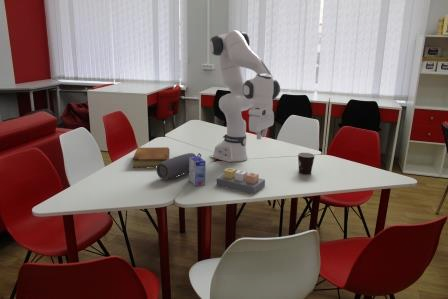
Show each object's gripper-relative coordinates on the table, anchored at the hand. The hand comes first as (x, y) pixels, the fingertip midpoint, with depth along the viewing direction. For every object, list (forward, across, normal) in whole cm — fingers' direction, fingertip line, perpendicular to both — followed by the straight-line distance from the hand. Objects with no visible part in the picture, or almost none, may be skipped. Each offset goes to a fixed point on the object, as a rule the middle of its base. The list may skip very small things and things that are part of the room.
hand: (261, 137), depth 182 cm
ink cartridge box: (+23, +16, -26) cm, 38 cm away
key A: (+21, +8, -12) cm, 25 cm away
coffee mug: (+23, -30, +13) cm, 40 cm away
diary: (+24, +3, -66) cm, 70 cm away
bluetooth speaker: (+23, +13, -40) cm, 48 cm away
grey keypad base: (+23, +8, -6) cm, 25 cm away
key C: (+21, +8, 0) cm, 22 cm away
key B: (+21, +8, -6) cm, 23 cm away
